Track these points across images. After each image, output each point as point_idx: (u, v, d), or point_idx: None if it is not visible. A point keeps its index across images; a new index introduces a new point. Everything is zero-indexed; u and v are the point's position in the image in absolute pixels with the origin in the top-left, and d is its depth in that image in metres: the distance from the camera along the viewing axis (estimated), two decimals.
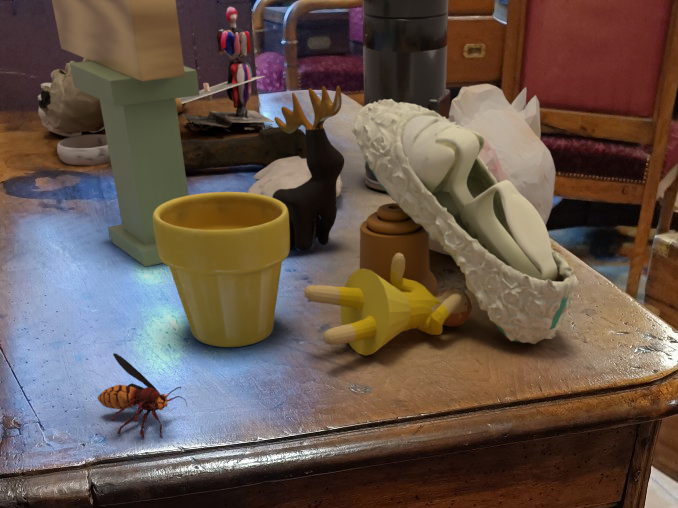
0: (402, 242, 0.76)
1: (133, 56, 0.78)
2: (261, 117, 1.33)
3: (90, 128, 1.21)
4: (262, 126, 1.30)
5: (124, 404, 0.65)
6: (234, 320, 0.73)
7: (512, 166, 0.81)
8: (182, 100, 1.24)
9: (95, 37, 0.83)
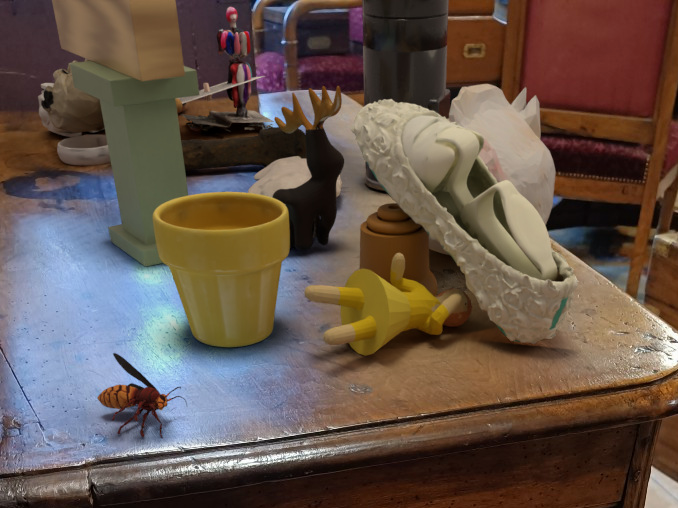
0: (402, 242, 0.76)
1: (133, 56, 0.78)
2: (261, 117, 1.33)
3: (93, 128, 1.21)
4: (262, 126, 1.30)
5: (124, 404, 0.65)
6: (234, 320, 0.73)
7: (512, 166, 0.81)
8: (182, 100, 1.24)
9: (95, 37, 0.83)
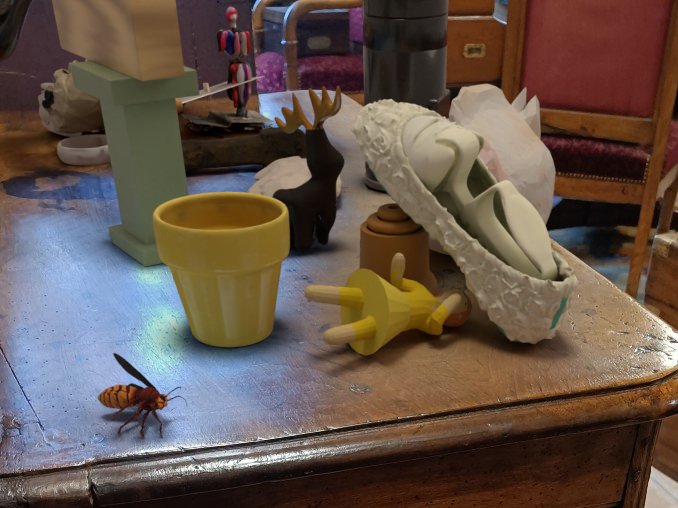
0: (402, 242, 0.76)
1: (133, 56, 0.78)
2: (261, 117, 1.33)
3: (94, 127, 1.21)
4: (262, 126, 1.30)
5: (124, 404, 0.65)
6: (234, 320, 0.73)
7: (512, 166, 0.81)
8: (182, 100, 1.24)
9: (95, 37, 0.83)
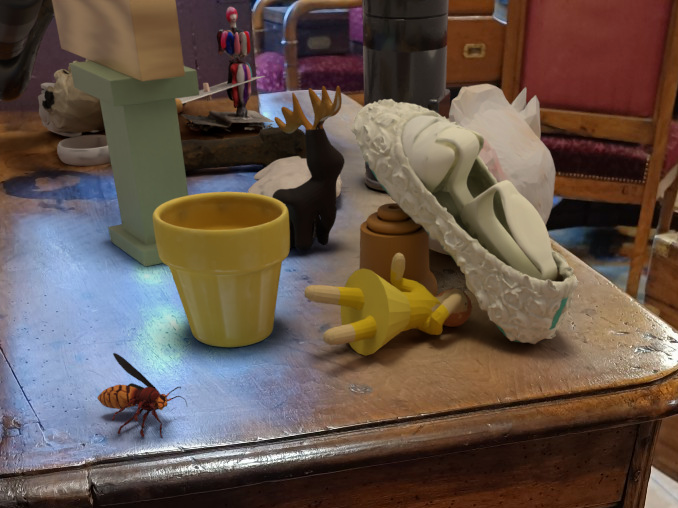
0: (402, 242, 0.76)
1: (133, 56, 0.78)
2: (261, 117, 1.33)
3: (94, 128, 1.21)
4: (262, 126, 1.30)
5: (124, 404, 0.65)
6: (234, 320, 0.73)
7: (512, 166, 0.81)
8: (182, 100, 1.24)
9: (95, 37, 0.83)
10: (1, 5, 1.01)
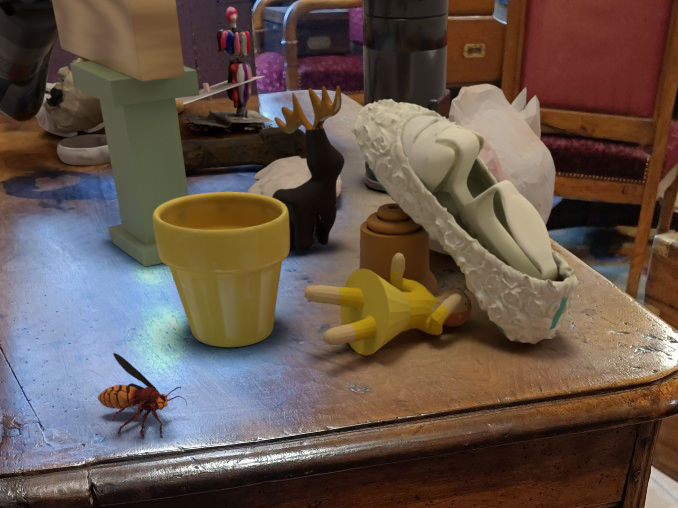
0: (402, 242, 0.76)
1: (133, 56, 0.78)
2: (261, 117, 1.33)
3: (94, 126, 1.20)
4: (262, 126, 1.30)
5: (124, 404, 0.65)
6: (234, 320, 0.73)
7: (512, 166, 0.81)
8: (182, 101, 1.24)
9: (95, 37, 0.83)
10: (19, 28, 0.97)
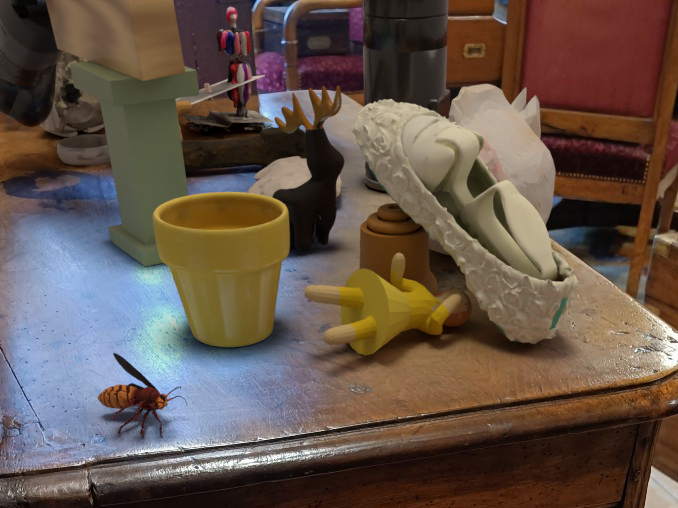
0: (402, 242, 0.76)
1: (133, 56, 0.78)
2: (261, 117, 1.33)
3: None
4: (262, 126, 1.30)
5: (124, 404, 0.65)
6: (234, 320, 0.73)
7: (512, 166, 0.81)
8: None
9: (92, 37, 0.83)
10: (33, 32, 0.92)
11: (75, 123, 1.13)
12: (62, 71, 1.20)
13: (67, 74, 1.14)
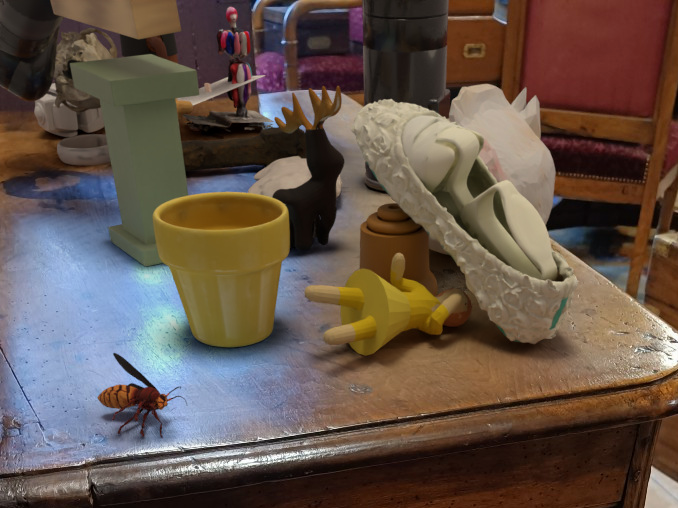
0: (402, 242, 0.76)
1: (128, 14, 0.77)
2: (261, 117, 1.33)
3: None
4: (262, 126, 1.30)
5: (124, 404, 0.65)
6: (234, 320, 0.73)
7: (512, 166, 0.81)
8: None
9: None
10: None
11: (72, 100, 1.12)
12: (68, 52, 1.19)
13: (72, 52, 1.13)
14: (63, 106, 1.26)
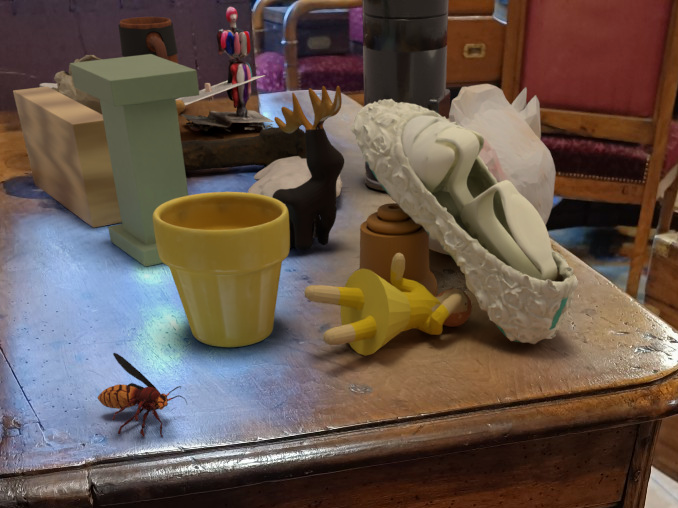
0: (402, 242, 0.76)
1: (86, 209, 0.98)
2: (261, 117, 1.33)
3: None
4: (262, 126, 1.30)
5: (124, 404, 0.65)
6: (234, 320, 0.73)
7: (512, 166, 0.81)
8: (186, 101, 1.24)
9: (59, 185, 1.03)
10: None
11: None
12: None
13: None
14: None
